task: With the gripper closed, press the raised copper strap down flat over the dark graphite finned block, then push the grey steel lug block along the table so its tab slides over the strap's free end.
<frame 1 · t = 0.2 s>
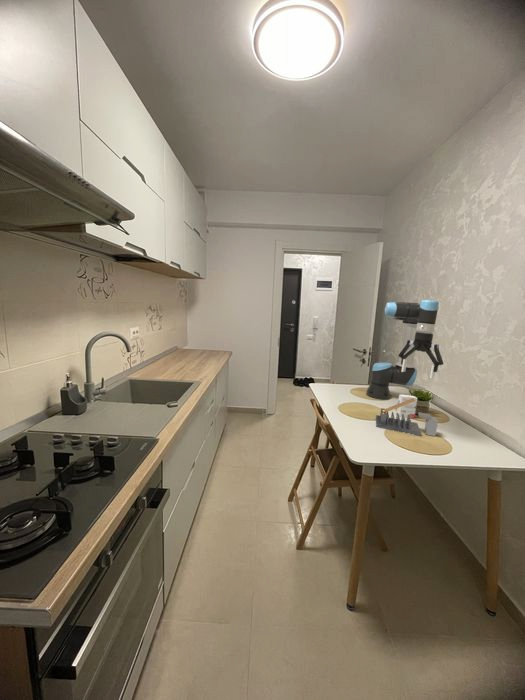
hand: (417, 374, 140), 28 cm above the table, fingers open, 13 cm apart
ink box: (404, 416, 162), on the table
lug: (426, 423, 140), point 5 cm above the table, slide at 0.0 cm
strap: (397, 405, 143), point 11 cm above the table, hinge at 35.0°
heatsink: (396, 426, 145), on the table
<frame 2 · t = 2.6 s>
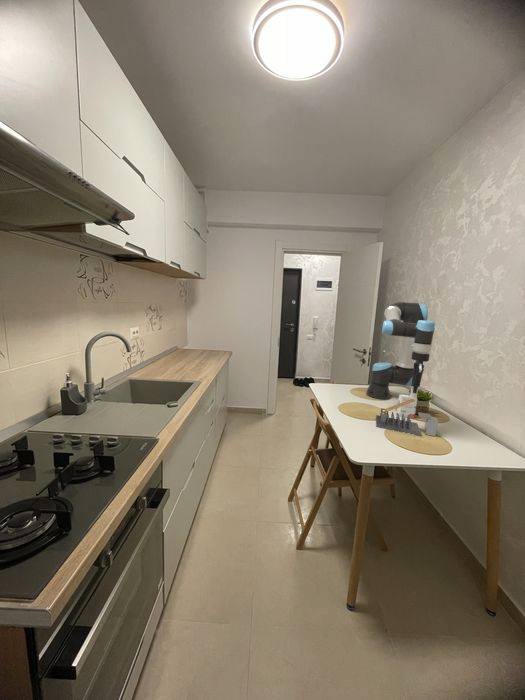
hand: (413, 398, 140), 16 cm above the table, fingers closed
strap: (398, 405, 143), point 11 cm above the table, hinge at 34.7°, touching gripper
everything else where it was.
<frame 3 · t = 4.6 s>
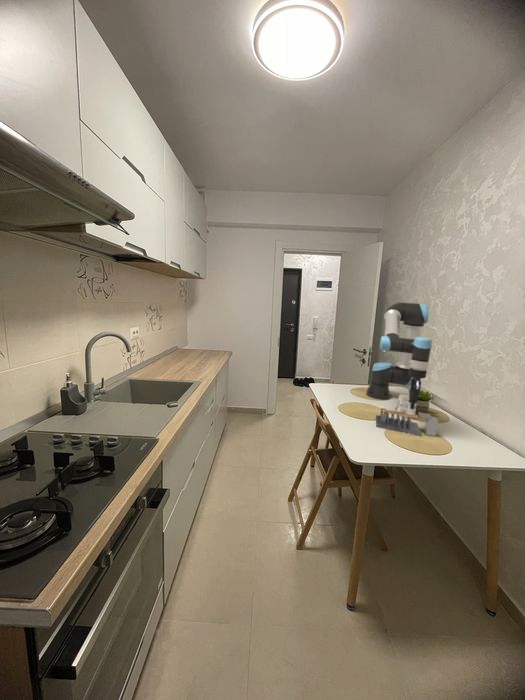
hand: (410, 414, 142), 8 cm above the table, fingers closed
strap: (399, 413, 144), point 7 cm above the table, hinge at 2.4°, touching gripper
everything else where it was.
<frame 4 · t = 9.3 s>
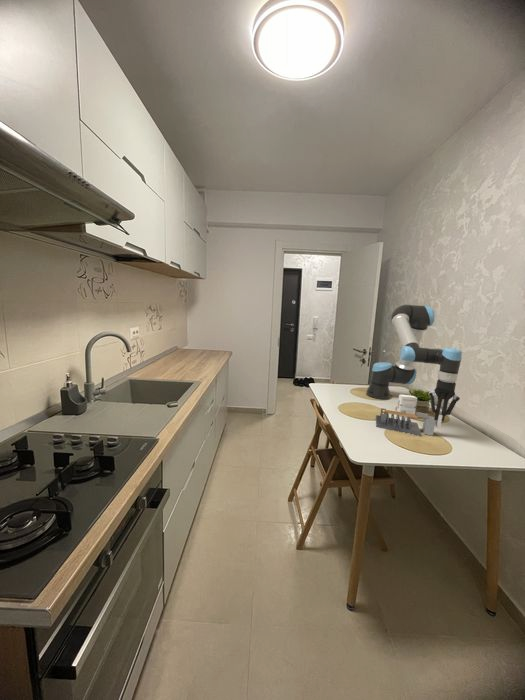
hand: (437, 426, 138), 4 cm above the table, fingers closed
lug: (424, 423, 140), point 5 cm above the table, slide at 1.0 cm, touching gripper
strap: (399, 413, 144), point 7 cm above the table, hinge at 2.3°
everything else where it was.
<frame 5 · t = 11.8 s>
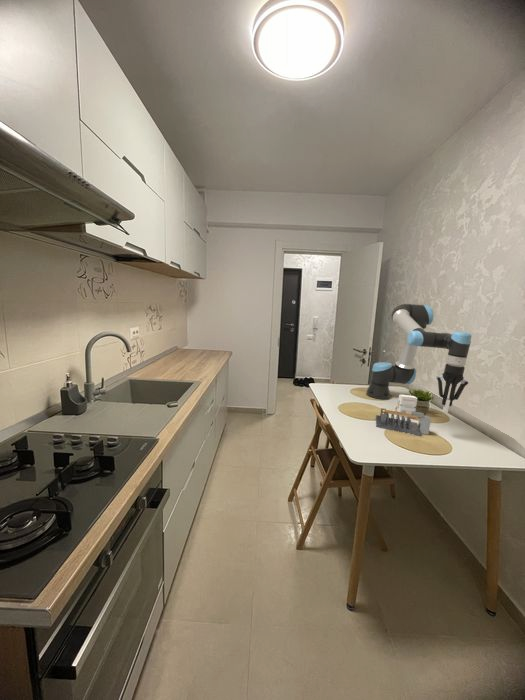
hand: (445, 411, 137), 12 cm above the table, fingers closed
lug: (419, 422, 141), point 5 cm above the table, slide at 3.0 cm, touching heatsink
everything else where it was.
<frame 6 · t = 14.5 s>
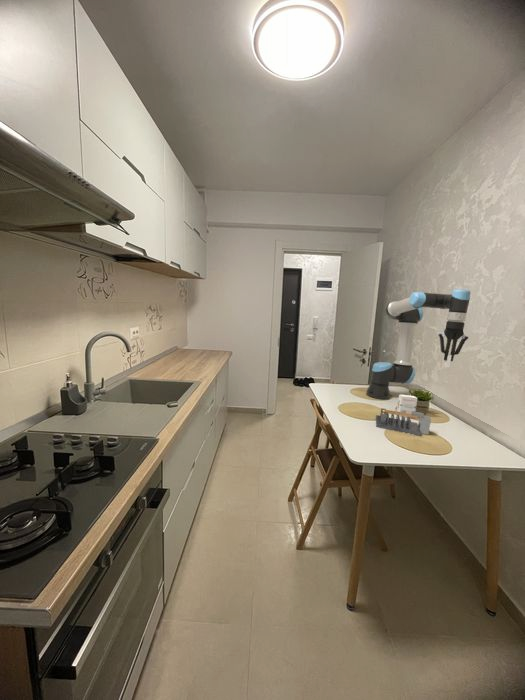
hand: (446, 367, 145), 32 cm above the table, fingers closed
nothing on the table moved.
at the end: strap at +2° (first picture: +35°); lug slide at 3.0 cm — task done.
